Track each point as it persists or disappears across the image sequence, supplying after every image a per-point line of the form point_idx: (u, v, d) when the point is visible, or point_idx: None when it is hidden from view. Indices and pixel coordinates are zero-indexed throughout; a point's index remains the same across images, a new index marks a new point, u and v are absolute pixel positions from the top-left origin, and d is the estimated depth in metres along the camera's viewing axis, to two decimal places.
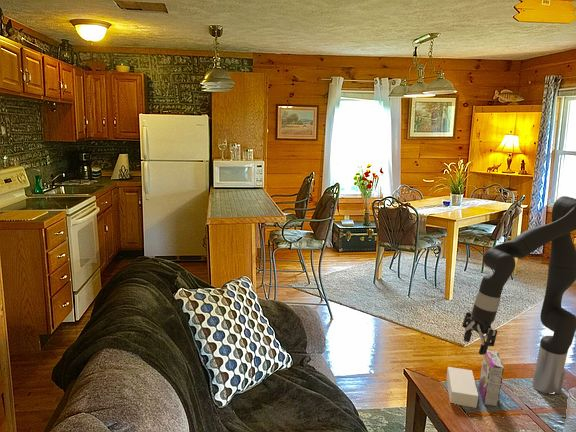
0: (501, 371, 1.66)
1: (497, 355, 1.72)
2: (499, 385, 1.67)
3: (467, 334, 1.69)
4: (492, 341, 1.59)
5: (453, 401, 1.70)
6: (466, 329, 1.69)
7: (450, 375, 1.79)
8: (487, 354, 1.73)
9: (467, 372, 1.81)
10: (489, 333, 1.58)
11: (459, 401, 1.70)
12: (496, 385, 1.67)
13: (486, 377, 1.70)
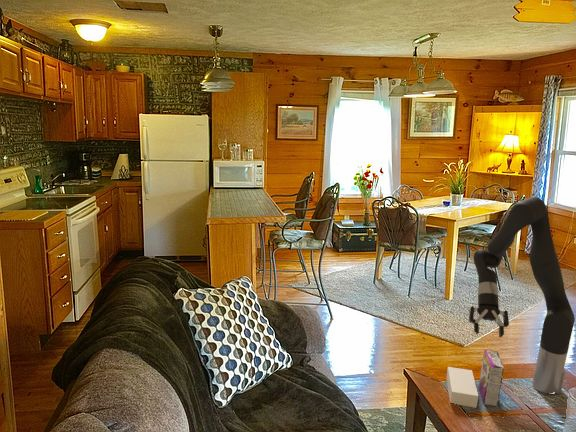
0: (501, 371, 1.66)
1: (497, 355, 1.72)
2: (499, 385, 1.67)
3: (499, 329, 1.83)
4: None
5: (453, 401, 1.70)
6: None
7: (450, 375, 1.79)
8: (487, 354, 1.73)
9: (467, 372, 1.81)
10: None
11: (459, 401, 1.70)
12: (496, 385, 1.67)
13: (486, 377, 1.70)
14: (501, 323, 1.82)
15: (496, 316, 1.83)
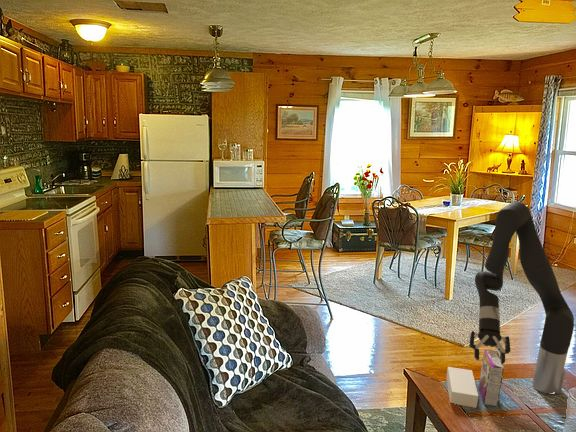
0: (501, 371, 1.66)
1: (497, 355, 1.72)
2: (499, 385, 1.67)
3: (500, 356, 1.77)
4: None
5: (453, 401, 1.70)
6: None
7: (450, 375, 1.79)
8: (487, 354, 1.73)
9: (467, 372, 1.81)
10: None
11: (459, 401, 1.70)
12: (496, 385, 1.67)
13: (486, 377, 1.70)
14: (502, 349, 1.76)
15: (497, 342, 1.78)
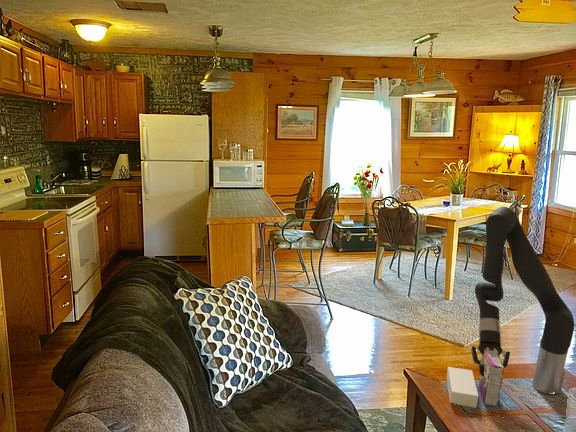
0: (501, 371, 1.66)
1: (497, 355, 1.72)
2: (499, 385, 1.67)
3: None
4: None
5: (453, 401, 1.70)
6: None
7: (450, 375, 1.79)
8: (487, 354, 1.73)
9: (467, 372, 1.81)
10: None
11: (459, 401, 1.70)
12: (496, 385, 1.67)
13: (486, 377, 1.70)
14: None
15: None
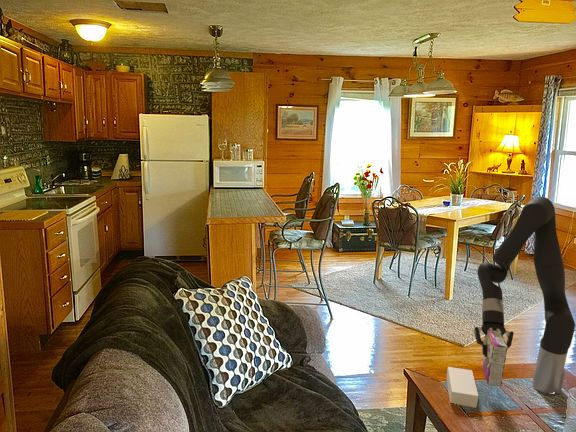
0: (505, 350, 1.64)
1: (501, 335, 1.70)
2: (503, 365, 1.65)
3: None
4: None
5: (453, 401, 1.70)
6: None
7: (450, 375, 1.79)
8: (490, 334, 1.71)
9: (467, 372, 1.81)
10: None
11: (459, 401, 1.70)
12: (500, 365, 1.65)
13: (489, 357, 1.68)
14: None
15: None
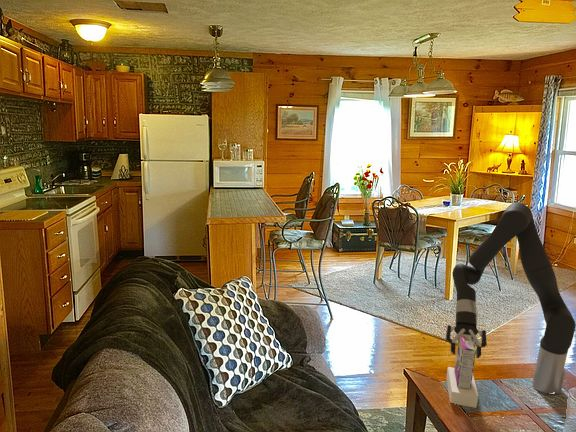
0: (473, 354, 1.67)
1: (471, 339, 1.73)
2: (472, 368, 1.68)
3: (476, 350, 1.75)
4: None
5: (453, 401, 1.70)
6: None
7: (450, 375, 1.79)
8: (461, 337, 1.74)
9: None
10: None
11: (459, 401, 1.70)
12: (469, 368, 1.68)
13: (459, 360, 1.71)
14: (478, 343, 1.74)
15: (473, 336, 1.75)
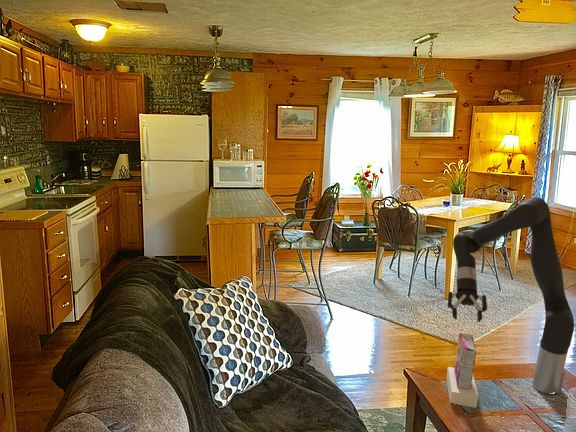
0: (474, 354, 1.67)
1: (471, 339, 1.73)
2: (472, 368, 1.68)
3: (477, 314, 1.81)
4: None
5: (453, 401, 1.70)
6: None
7: (450, 375, 1.79)
8: (461, 338, 1.74)
9: None
10: None
11: (459, 401, 1.70)
12: (469, 368, 1.68)
13: (459, 360, 1.71)
14: (479, 308, 1.81)
15: (474, 301, 1.82)
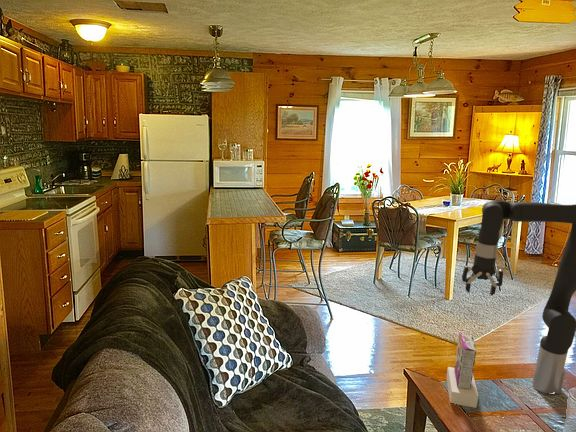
0: (474, 354, 1.67)
1: (471, 339, 1.73)
2: (472, 368, 1.68)
3: (491, 286, 1.81)
4: None
5: (453, 401, 1.70)
6: None
7: (450, 375, 1.79)
8: (461, 338, 1.74)
9: None
10: None
11: (459, 401, 1.70)
12: (469, 368, 1.68)
13: (459, 360, 1.71)
14: (494, 284, 1.78)
15: (490, 278, 1.78)
